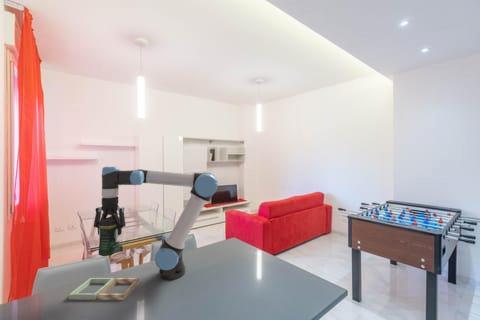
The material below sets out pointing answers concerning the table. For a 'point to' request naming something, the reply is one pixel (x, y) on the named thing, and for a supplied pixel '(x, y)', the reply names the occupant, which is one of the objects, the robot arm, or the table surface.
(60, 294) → the table surface
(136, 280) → the birch frame
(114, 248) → the coffee jar
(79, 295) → the green frame
